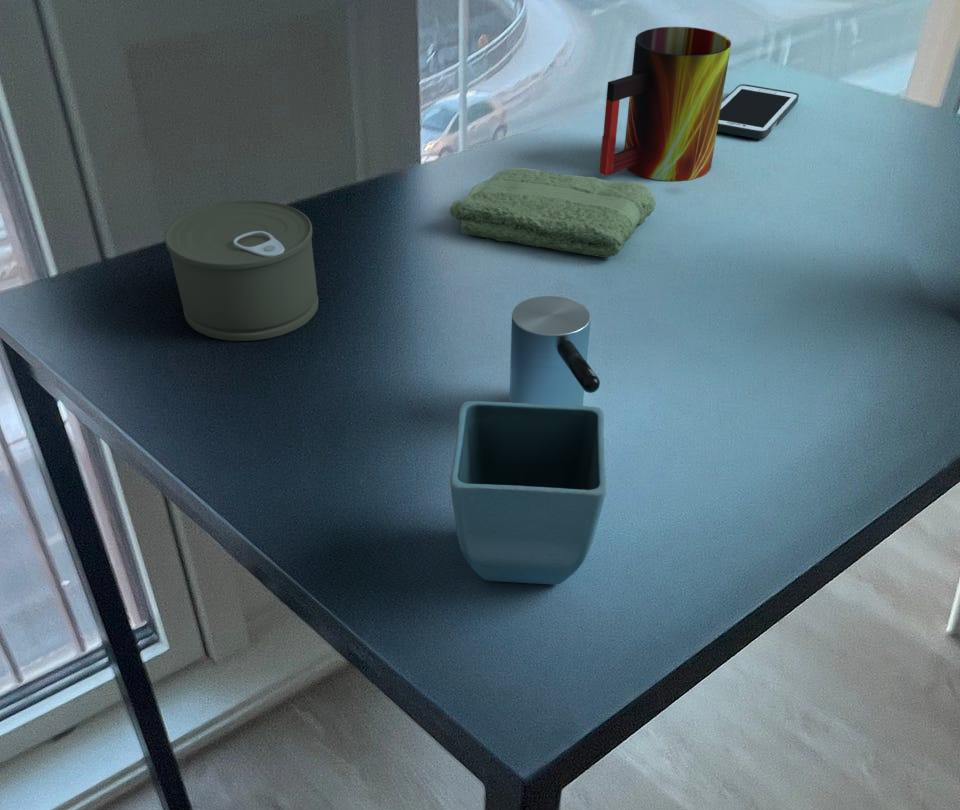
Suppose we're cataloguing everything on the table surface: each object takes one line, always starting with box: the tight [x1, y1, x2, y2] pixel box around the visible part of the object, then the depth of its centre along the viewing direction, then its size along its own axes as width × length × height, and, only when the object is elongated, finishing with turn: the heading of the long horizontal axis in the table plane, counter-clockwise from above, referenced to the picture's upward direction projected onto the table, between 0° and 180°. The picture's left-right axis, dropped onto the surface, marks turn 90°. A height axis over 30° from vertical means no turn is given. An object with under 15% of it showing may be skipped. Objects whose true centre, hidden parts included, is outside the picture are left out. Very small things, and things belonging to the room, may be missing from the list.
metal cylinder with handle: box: [508, 295, 601, 406], centre depth 72 cm, size 11×6×8 cm, turn 18°
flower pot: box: [449, 400, 608, 585], centre depth 62 cm, size 9×9×9 cm
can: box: [164, 199, 319, 342], centre depth 86 cm, size 12×12×7 cm
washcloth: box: [449, 167, 657, 258], centre depth 99 cm, size 13×18×3 cm
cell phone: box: [717, 83, 800, 140], centre depth 120 cm, size 8×15×1 cm, turn 152°
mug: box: [599, 26, 732, 182], centre depth 105 cm, size 10×14×12 cm
